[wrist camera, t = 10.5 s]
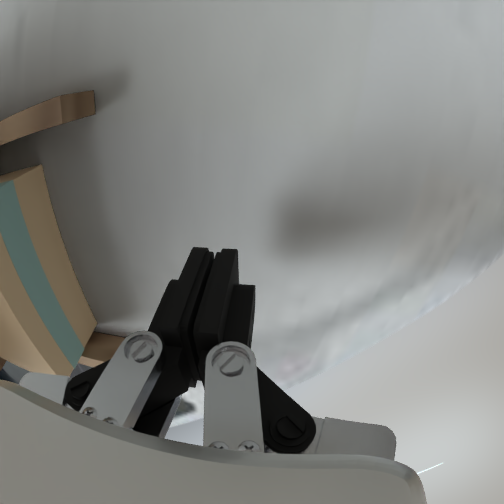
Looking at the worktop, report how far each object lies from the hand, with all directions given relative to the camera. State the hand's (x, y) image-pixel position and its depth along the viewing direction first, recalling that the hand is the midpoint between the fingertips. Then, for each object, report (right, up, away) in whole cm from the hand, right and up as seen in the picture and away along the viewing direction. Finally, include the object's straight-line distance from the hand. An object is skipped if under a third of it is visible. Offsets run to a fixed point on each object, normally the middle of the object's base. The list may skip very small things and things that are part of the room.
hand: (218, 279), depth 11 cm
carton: (-15, +1, +4) cm, 15 cm away
